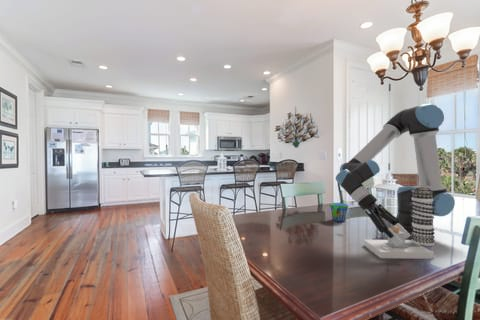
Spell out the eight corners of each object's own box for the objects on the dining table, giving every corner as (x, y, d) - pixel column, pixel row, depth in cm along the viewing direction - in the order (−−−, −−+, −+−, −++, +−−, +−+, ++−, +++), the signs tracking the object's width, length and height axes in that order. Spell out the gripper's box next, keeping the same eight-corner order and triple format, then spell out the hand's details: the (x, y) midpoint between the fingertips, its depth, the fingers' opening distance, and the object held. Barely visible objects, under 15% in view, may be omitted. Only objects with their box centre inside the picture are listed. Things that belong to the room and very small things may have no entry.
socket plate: (410, 245, 107) (410, 238, 107) (433, 258, 93) (433, 250, 93) (364, 245, 108) (363, 238, 108) (380, 258, 94) (380, 250, 94)
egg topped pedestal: (398, 248, 103) (398, 225, 103) (405, 253, 98) (405, 228, 98) (387, 248, 103) (387, 225, 103) (393, 253, 99) (393, 228, 99)
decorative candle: (439, 247, 105) (438, 189, 105) (414, 244, 108) (413, 188, 108) (431, 240, 113) (430, 187, 113) (407, 238, 117) (407, 186, 117)
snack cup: (336, 216, 160) (336, 201, 160) (352, 219, 153) (352, 203, 153) (325, 221, 149) (324, 205, 149) (342, 224, 142) (342, 207, 142)
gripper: (367, 200, 120) (404, 239, 108) (346, 207, 104) (387, 253, 93) (379, 190, 116) (419, 229, 104) (359, 196, 100) (403, 242, 89)
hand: (404, 240), depth 99 cm, fingers open, 11 cm apart
